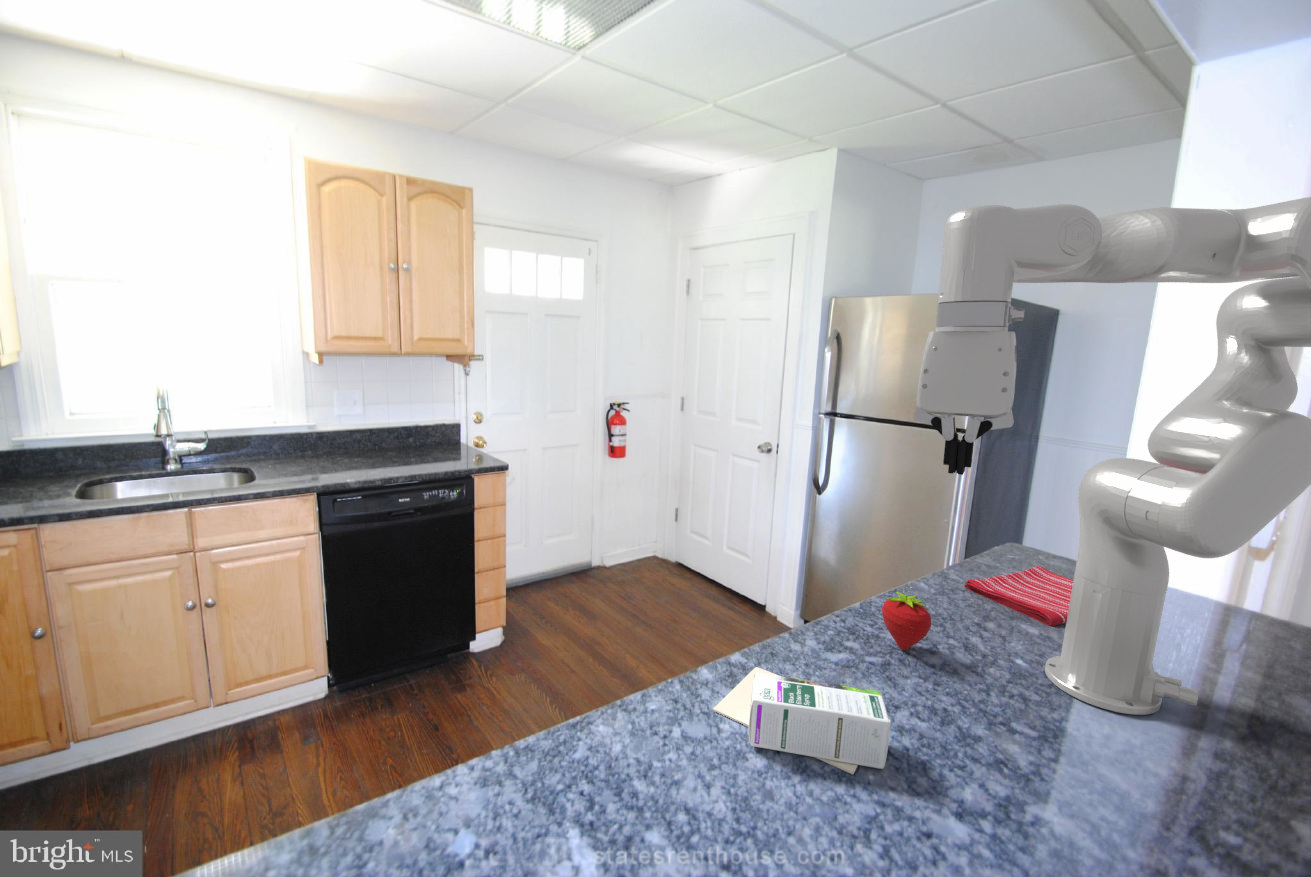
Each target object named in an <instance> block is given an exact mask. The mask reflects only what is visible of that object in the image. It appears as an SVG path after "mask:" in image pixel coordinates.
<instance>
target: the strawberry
mask: <svg viewBox="0 0 1311 877" xmlns="http://www.w3.org/2000/svg"><path fill="white" fill-rule="evenodd" d="M903 588H904V590H905V594H903V593H901V592H900V591H899V592H898V591H896V592H895V593H896V594H897V596H898V597H887V599H886V600H885V601H884V602H883V605H882V607H881V613H882V618H883V623H884V624H885V626H886V628H887V630H888V632H889V634H890V635H891V637H892V639H893V640H894V641H895V643H896V645H897V647H898V648H899V649H900V650H903V651H906V650H909V649H910V648H911V647H913V646H915V645H917V644H918V643H920V641H921V640H923V639H924V638H925V637H926V636H927V635H928V633H929V631H930V630H931V627H932V624H933V623H932V617H931V614H930V613H929V611H928V609H927V608H926V607H925V605H924V604H922V603H925V601H923V600H921V599H917V598H916V597H918V595H908V594H907V589H906V586H904V587H903Z"/></svg>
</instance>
